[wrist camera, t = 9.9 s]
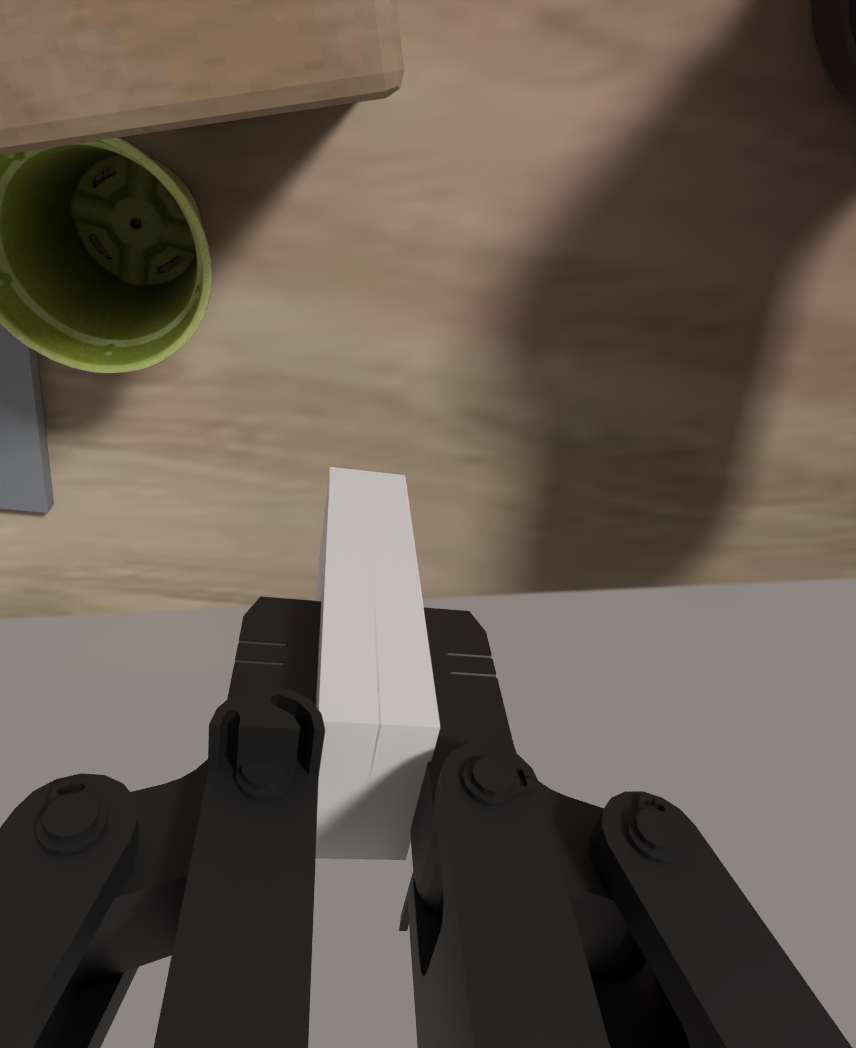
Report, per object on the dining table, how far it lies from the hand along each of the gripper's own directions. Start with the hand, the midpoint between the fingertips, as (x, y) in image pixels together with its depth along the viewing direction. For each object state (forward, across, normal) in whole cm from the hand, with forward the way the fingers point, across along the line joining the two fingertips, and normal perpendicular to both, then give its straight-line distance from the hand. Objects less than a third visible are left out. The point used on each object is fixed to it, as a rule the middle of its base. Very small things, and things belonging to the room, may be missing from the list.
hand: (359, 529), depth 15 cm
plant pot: (+27, -10, 0) cm, 29 cm away
